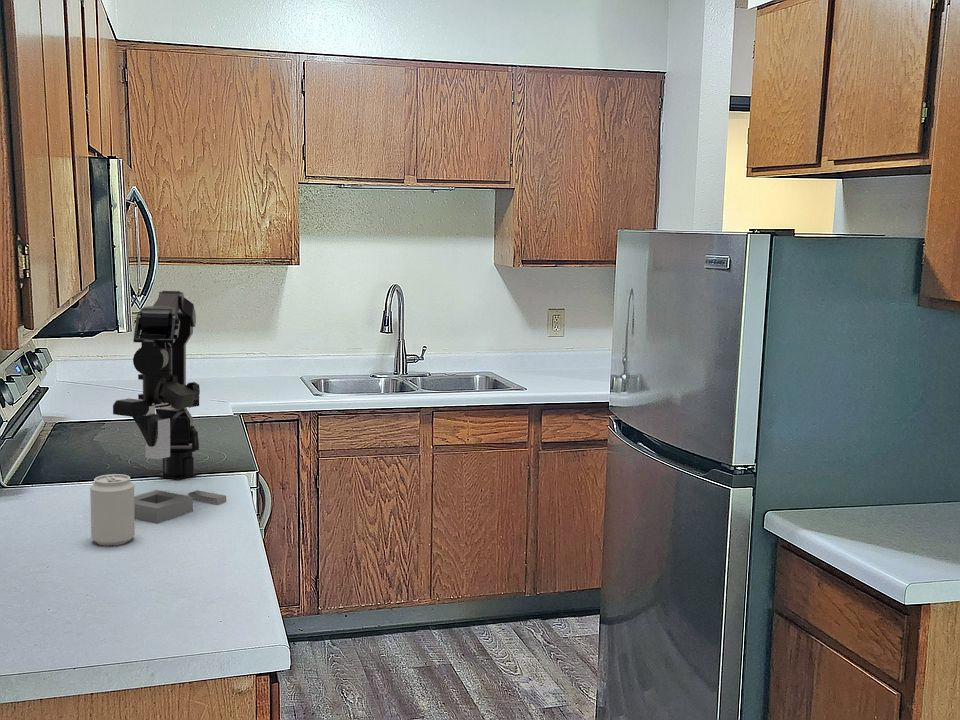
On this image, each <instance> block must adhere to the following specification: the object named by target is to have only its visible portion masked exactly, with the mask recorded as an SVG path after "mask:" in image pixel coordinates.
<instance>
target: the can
mask: <svg viewBox="0 0 960 720" xmlns="http://www.w3.org/2000/svg"><path fill="white" fill-rule="evenodd" d="M93 481H94V482H93V483H92V485H91V486H90V488H89V489H90V534H91V535H90V538H91V540H92V541H94V542H95V543H96V544H97V545H100V546H106V547H107V546H108V547H109V546H110V545H111V546H112V545H113V546H119V545H125V544H126V542H127V543H129V542H130V541H131V540H132V539H133V538H134V536H135V533H136V531H135V530H136V526H135V520H136V519H135V512H134V496H135V484H134V483H133V482H132V481H131V477H130V475H127V474H122V473H120V474H119V473H112V474H104V475H99V476H96V477H95V478H94V479H93ZM128 541H129V542H128Z"/></svg>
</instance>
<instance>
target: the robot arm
mask: <svg viewBox="0 0 960 720" xmlns="http://www.w3.org/2000/svg"><path fill="white" fill-rule="evenodd" d="M135 319H136V320H135V325H134V333H133V343H141V345H140V348H138V349H137V350H136V351H135V353H134V354H133V358H132V363H133V366H134V369H136V371H137V372H138V373H139V374H137V380H139V381H140V380H142V393H140V394H138V395H137V399H136V398H135V399H134V398H124V399H123V398H122V399H118V400H117V399H116V400H115V402H114V403H113V405H112V415H117V416H122V417H123V416H124V417H132V419H133V420H134V422H135V423H136V426H137V427H138V429H139V431H140V432H141V434H142V436H143V438H144V440H146V442H147V444H148V446H150V447H153V446H154V439H155V421H156V420H157V418H158V417H163V418H170V457H166V458H162V472H160V473H158V474H157V477H161V478H165V477H166V478H167V479H172V480H177V481H178V480H182V479H183V480H184V479H186V478H189V477H192V476H193V477H194V476H196V475H198V472H197V471H194V466H195V465H194V456H193V453H195V452H196V451H200V438H199V432H198V430H197V428H196V425H194V418H193V415H192V414H191V413H190V411H189V410H188V408H189V409H190V408H193V407H200V395H201V394H200V393H201V392H200V391H201V390H200V384H199V383H197V382H195V381H193V382H192V381H191V382H187V380H186V379H187V371H186V370H187V354H186V353H187V343H188V342H189V340H190V339H191V338H192V336H193V334H194V328H196V324H197V316H196V309H195V306H194V303H192V302H191V301H190V300H189V299H187V298H185V295H184V292H182V291H180V290H162V291H159V292H158V297H157V299H156V301H155V303H154V304H153V305H151V306H144V307H143V306H142V308H141V309H140V311H139V312H138V313H137V314H136V318H135ZM186 382H187V383H186Z"/></svg>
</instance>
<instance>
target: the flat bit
mask: <svg viewBox="0 0 960 720" xmlns="http://www.w3.org/2000/svg"><path fill="white" fill-rule="evenodd" d="M187 496H191V497H193V502H199V503H204V504H209V505H214V506H219V505H222V504H225V503H227V495H225V494H219V493H215V492H209V491H204V490H198V489H197V490H193V491H191V492H188V493H187Z"/></svg>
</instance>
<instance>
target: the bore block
mask: <svg viewBox="0 0 960 720" xmlns="http://www.w3.org/2000/svg"><path fill="white" fill-rule="evenodd" d="M134 512H135V520H139V521H142V522H143V521H144V522H148V523H154V524H159V523H162V522H166V521H168V520H171V519H175V518H177V517H180V516H184V515H186V514H189V513H192V512H194V501H193V497H191V496H188V495H184V494H180V493H179V494H178V493H173V492H169V491H163V490H158V489H155V490H152V491H148V492H146V493H142V494H137V495H134Z"/></svg>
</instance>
